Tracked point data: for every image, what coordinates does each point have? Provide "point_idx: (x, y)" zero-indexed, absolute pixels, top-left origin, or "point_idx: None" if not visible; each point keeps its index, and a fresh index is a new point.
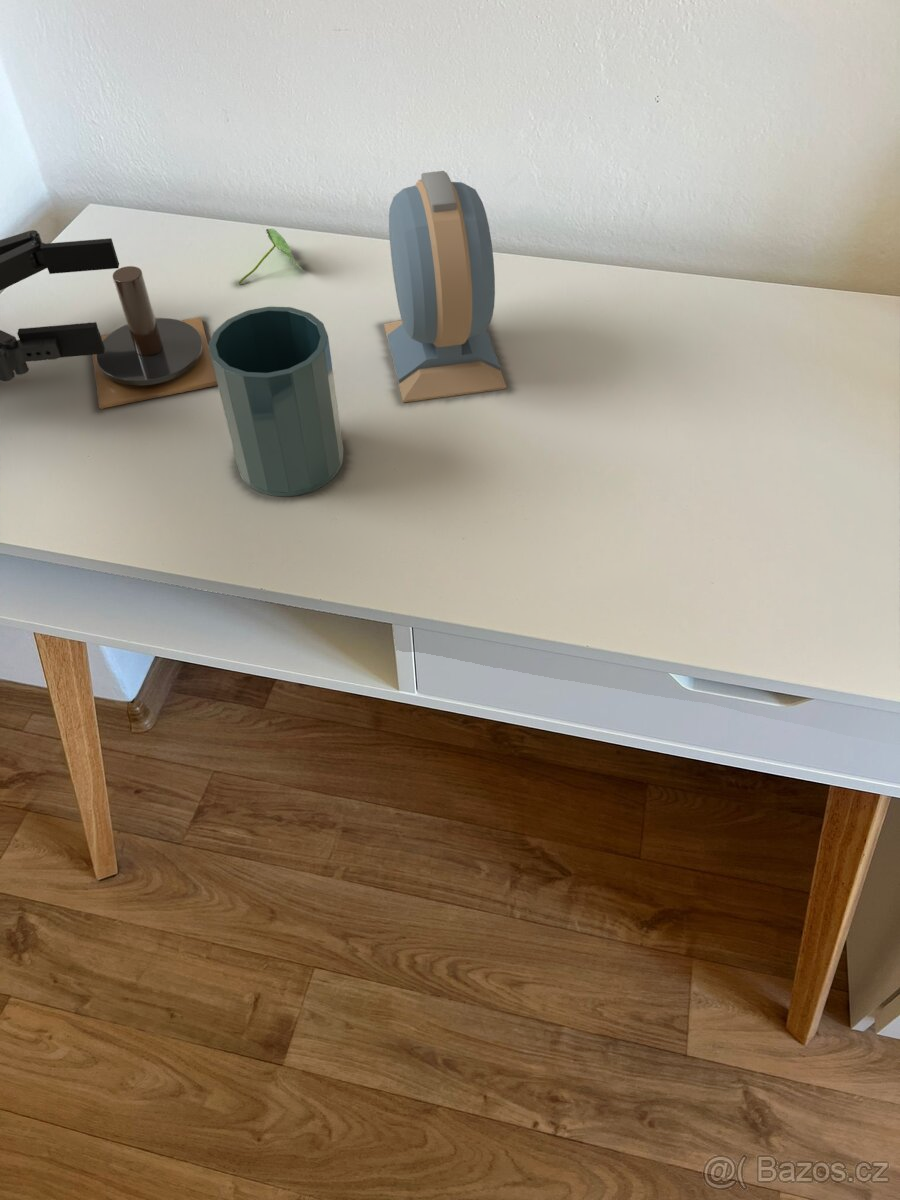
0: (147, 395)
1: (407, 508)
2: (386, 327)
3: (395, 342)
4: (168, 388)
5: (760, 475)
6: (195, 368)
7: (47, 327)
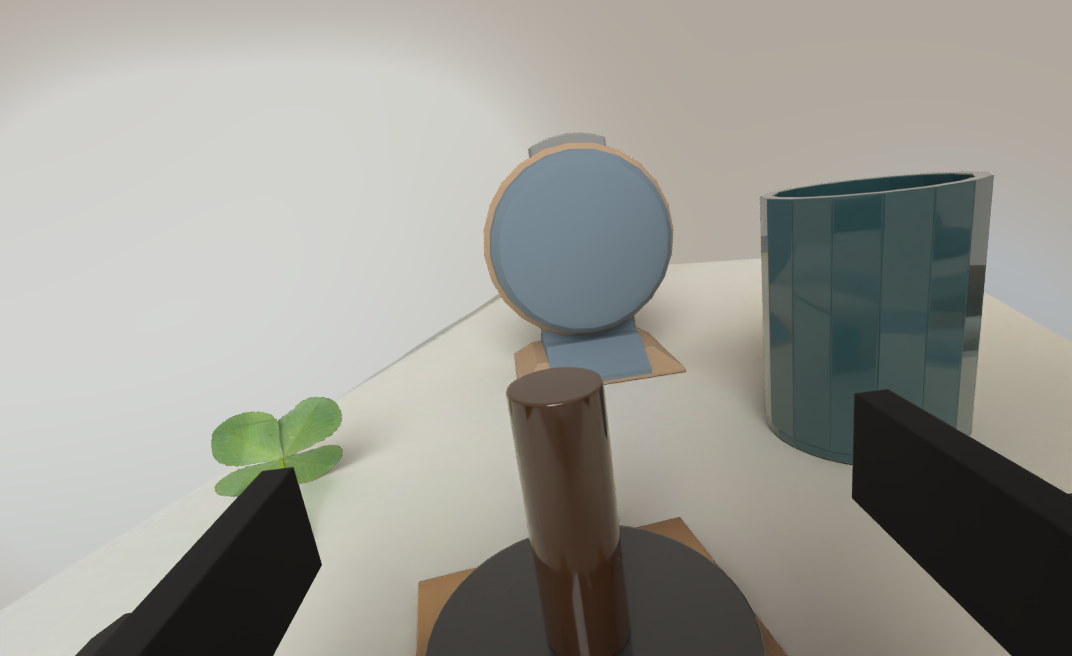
0: (773, 640)
1: None
2: None
3: None
4: None
5: (731, 275)
6: None
7: (1021, 495)
